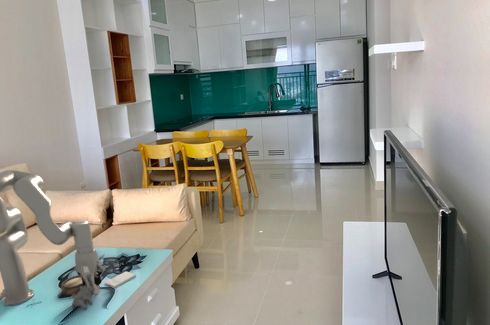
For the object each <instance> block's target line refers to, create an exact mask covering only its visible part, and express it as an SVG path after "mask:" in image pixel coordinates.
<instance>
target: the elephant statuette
mask: <svg viewBox="0 0 490 325" xmlns="http://www.w3.org/2000/svg"><path fill="white" fill-rule="evenodd" d="M94 290H95V288H94V287H93V286H90V287H82V286H80V291H79V292H78V293H77V294H73V295H71V299H73V301H72V303H71V308H72V309H73V310H74V309H75V308H76V307H79V308H80V307H81V308H82V310H83V311H87V310H88V307H87V306H86V304H85V302H87V303H88V304H89V305H90V306H91V305H93V304H94V302H93V299H92V296H91V294H90V293H93V292H94Z"/></svg>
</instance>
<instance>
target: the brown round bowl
mask: <svg viewBox="0 0 490 325" xmlns="http://www.w3.org/2000/svg"><path fill="white" fill-rule="evenodd" d="M80 286H82V287H86V285H83V283H82V278H81V277H80V275H79V274H78V275H73V276H71V277H68V278H67V279H65V280H64V281H62V283H61V285H60V290H61V294H62V295H64V296H72V295H73V294H77V293H78V292H79V291H80Z"/></svg>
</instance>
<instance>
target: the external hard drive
mask: <svg viewBox="0 0 490 325" xmlns="http://www.w3.org/2000/svg"><path fill="white" fill-rule="evenodd" d="M136 277H137V275H136V274H135V273H132V272H130V271H124V272H122V273H120V274H117V275H116V276H115V277H113V278H111V279H109V280H107V281H105V282H104V285H105V284H106V286H108V287H110V288H113V289H116V288H118V287H120V286H122V285H123V284H125V283H126V282H129V281H131V280H132V279H134V278H136Z"/></svg>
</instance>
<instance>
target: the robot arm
mask: <svg viewBox="0 0 490 325" xmlns="http://www.w3.org/2000/svg"><path fill="white" fill-rule="evenodd" d="M44 184H45V182H44V180H43V179H42V177H41V176H40V175H37V174H34V173H31V172H26V171H19V170H13V169H8V170H7V169H6V170H4V171H1V172H0V195H1V194H2V193H5V192H7V191H9V190H11V189H13V192H14V194H15V195H16V196H17V197H18V198H19V199H20V200H21V201H22V202H23V203H24V204H25V205H26V206H27V208H28V209H30V211H31V212H32V213H33V214H34V216H35V222H36V224H37V227H38V230H40V233H41V234H42V235H43V236H44V237H45V238H46V239H47V240H48V241H49V242H50V243H52V244H53V245H56V246H62V245H64V244H65V243H67V242H68V241H69V240H70V239H71V238H73V242H74V249H76V252H75V254H74V256H75V257H74V261H75V267H74V268H73V270H74V271H75V273H76V274H78V275H80V277H81V278H82V283H83V285H86V284H85V282H84V279H83V277H82V270H81V266H87V267H88V269H89V272H90V273H91V274H92V273H94V275H95V276H96V278H95V281H96V285H97V286H98V285H99V286H100V285H101V283H102V277H101V276H102V274H103V273H104V271H105V270H106V267H105V266H103V265H102V264H101V262H100V257H99V254H98V252H97V249H96V248H95V246H94V241H93V235H92V230H91V224H90V222H89V221H87V220H80V221H73V220H71V221H70V220H66V221H63V222H62V223H61V224H59V225H57V224H56V223H55V222H54V220H53V218H52V216H51V209H52V200H50V198H49V197H48V196H47V195H46V194H45V193H44V192H43V191H42V189H43V188H44ZM0 234H2V235H0V275H1V279H2V284H3V287H4V288H3V289H2V291H1V293H0V295H1V296H4V299H3V304H4V305H5V306H17V305H19V304H22V303H25V302H27V301H29V300H30V299H32V298H33V297H34V296H35V292H34V290H33V289H30V287H29V281H28V278H27V274H26V269H25V264H24V261H23V258H22V257H21V256H20V254H19V253H18V251H19V250H20V249H21V248H23V247H24V246H25V245H26V244H27V243H28V240H29V232H28V228H27V226H26V223H25V219H24V216H23V214H22V212H21V211H20V210H19V209H18V208H17V207H15V206H6V204H5V201H4V199H3V198H2V197H1V196H0ZM97 273H98V274H97Z"/></svg>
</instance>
